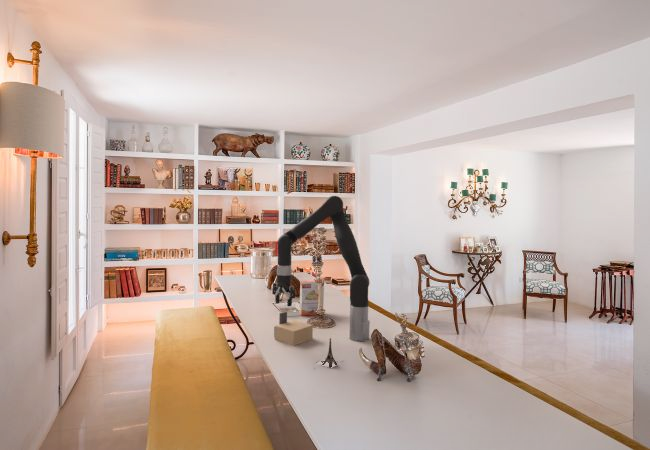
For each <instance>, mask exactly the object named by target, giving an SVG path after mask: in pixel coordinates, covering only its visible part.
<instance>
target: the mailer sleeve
mask: <svg viewBox="0 0 650 450" xmlns="http://www.w3.org/2000/svg"><path fill="white" fill-rule="evenodd" d="M274 327H275V338H274V340H275V341H279V342H281V343H285V344H287V345H290V346H296V345H300V344H302V343H304V342H307V341H310V340H312V339H314V338H313V336H314V335H313V334H314V331H313V330H314V329H313V327H314V325H313V324H310V323H306V322H302V321H298V320H295V319H294V320H291V321H287V323H283V324H280V325H279V324H276V325H275V326H274Z"/></svg>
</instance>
